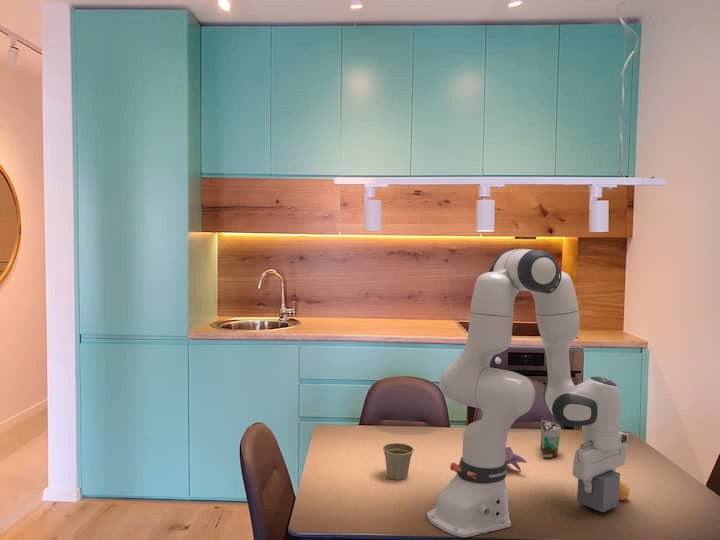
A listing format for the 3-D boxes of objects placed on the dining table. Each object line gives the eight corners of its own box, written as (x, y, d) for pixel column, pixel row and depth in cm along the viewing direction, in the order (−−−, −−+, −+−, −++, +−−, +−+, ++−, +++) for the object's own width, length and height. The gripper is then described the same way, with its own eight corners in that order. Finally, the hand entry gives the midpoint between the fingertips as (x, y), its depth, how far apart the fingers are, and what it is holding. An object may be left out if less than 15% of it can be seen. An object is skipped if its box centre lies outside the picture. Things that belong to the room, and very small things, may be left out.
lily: (527, 483, 182) (535, 452, 185) (493, 469, 180) (502, 438, 183) (508, 480, 193) (516, 451, 196) (476, 467, 191) (484, 437, 194)
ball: (622, 504, 166) (623, 487, 166) (606, 498, 170) (606, 480, 170) (632, 500, 169) (633, 482, 169) (615, 493, 173) (616, 476, 173)
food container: (563, 462, 196) (564, 432, 196) (543, 460, 197) (544, 430, 197) (558, 449, 208) (559, 421, 208) (540, 447, 209) (541, 419, 209)
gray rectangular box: (602, 512, 158) (604, 479, 157) (577, 501, 164) (578, 470, 163) (618, 505, 163) (620, 473, 162) (592, 494, 169) (594, 464, 168)
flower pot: (419, 476, 182) (420, 448, 182) (399, 485, 176) (400, 456, 175) (395, 467, 189) (396, 440, 188) (375, 476, 182) (376, 448, 181)
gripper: (589, 449, 153) (586, 501, 154) (632, 434, 166) (629, 483, 166) (567, 441, 158) (565, 492, 159) (610, 427, 171) (608, 475, 171)
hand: (598, 487), depth 163 cm, fingers closed on gray rectangular box, 8 cm apart
